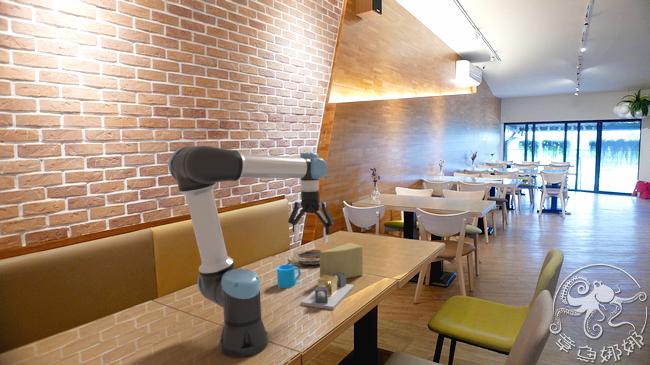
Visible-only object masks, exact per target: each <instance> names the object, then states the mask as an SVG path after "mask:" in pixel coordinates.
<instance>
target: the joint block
mask: <svg viewBox="0 0 650 365" xmlns="http://www.w3.org/2000/svg"><path fill="white" fill-rule="evenodd" d="M317 284H318V286H317V287H319V286H320V285H325V286H326V287H328V295H332V294H333V293H335V292H336V291H337V276H330V275H323V276H322V277H321V278H320V277H319V278H318V280H317Z"/></svg>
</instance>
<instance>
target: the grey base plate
mask: <svg viewBox="0 0 650 365" xmlns="http://www.w3.org/2000/svg"><path fill="white" fill-rule="evenodd" d="M354 289H355V284H349V283H346V286H343V287H341V288H340V287H337V291H336V292H335V293H333V294H332V295H328V303H316V301H315V290H313V291H312V292H311V293H310V294H308V295H307V296H306V297H305V298H304V299H303V300H301V302H300V305H301V306H307V307H313V308H320V309H325V310H332V311H334V310H335V309H336V308H337V307H338V305H340V303H342V302H343V301H344V300H345V298H346V297H347V296H348V295H349V294H350V293H351V292H352V291H353V290H354Z"/></svg>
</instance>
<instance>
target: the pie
mask: <svg viewBox="0 0 650 365" xmlns="http://www.w3.org/2000/svg"><path fill="white" fill-rule="evenodd" d="M322 251H323V250H322V249H313V248H312V249H308V250H301V251H300V250H299V251H296V252H295V253H293V254H292V255H291V257H290V258H288V260H289V261H290V262H289V264H288V265H293V266H300V267H301V266H302V267H303V266H306V267H307V266H309V267H313V266H317V267H318V266H319V267H320V254H321V252H322Z"/></svg>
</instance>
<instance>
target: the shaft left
mask: <svg viewBox="0 0 650 365" xmlns="http://www.w3.org/2000/svg"><path fill="white" fill-rule="evenodd" d="M314 291H315V301H316V303H328V287H326V286H325V285H320V286H319V287H318V286H316V287H315V290H314Z"/></svg>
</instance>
